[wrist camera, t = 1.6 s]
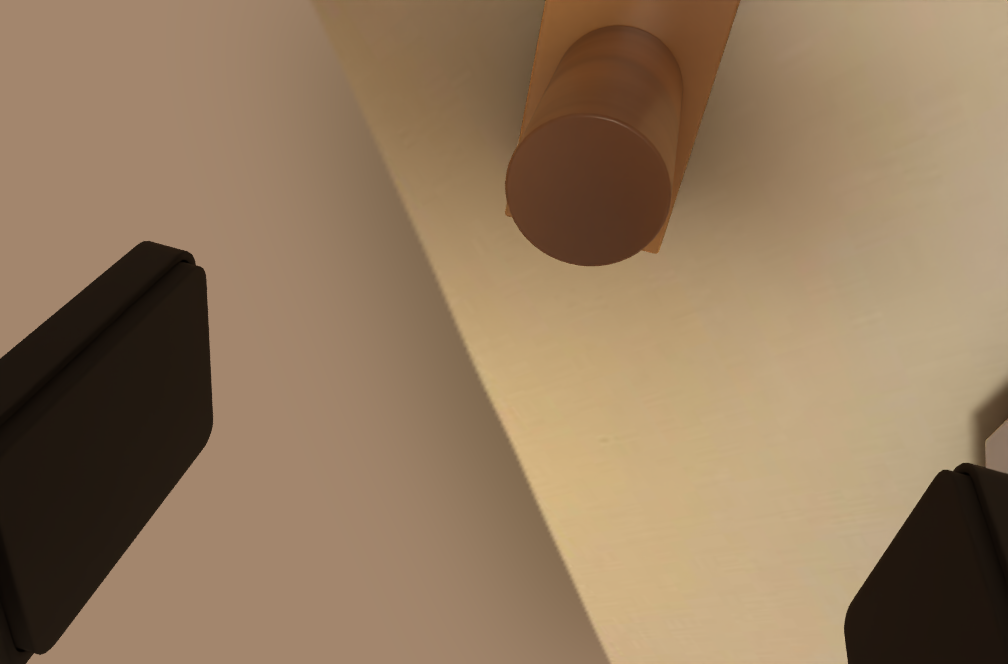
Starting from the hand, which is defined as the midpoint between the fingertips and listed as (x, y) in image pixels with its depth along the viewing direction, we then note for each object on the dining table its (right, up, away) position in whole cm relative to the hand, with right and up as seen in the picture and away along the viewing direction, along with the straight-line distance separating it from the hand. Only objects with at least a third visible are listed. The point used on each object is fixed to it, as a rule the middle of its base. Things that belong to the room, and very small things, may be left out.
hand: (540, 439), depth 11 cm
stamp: (+3, +9, +13) cm, 16 cm away
